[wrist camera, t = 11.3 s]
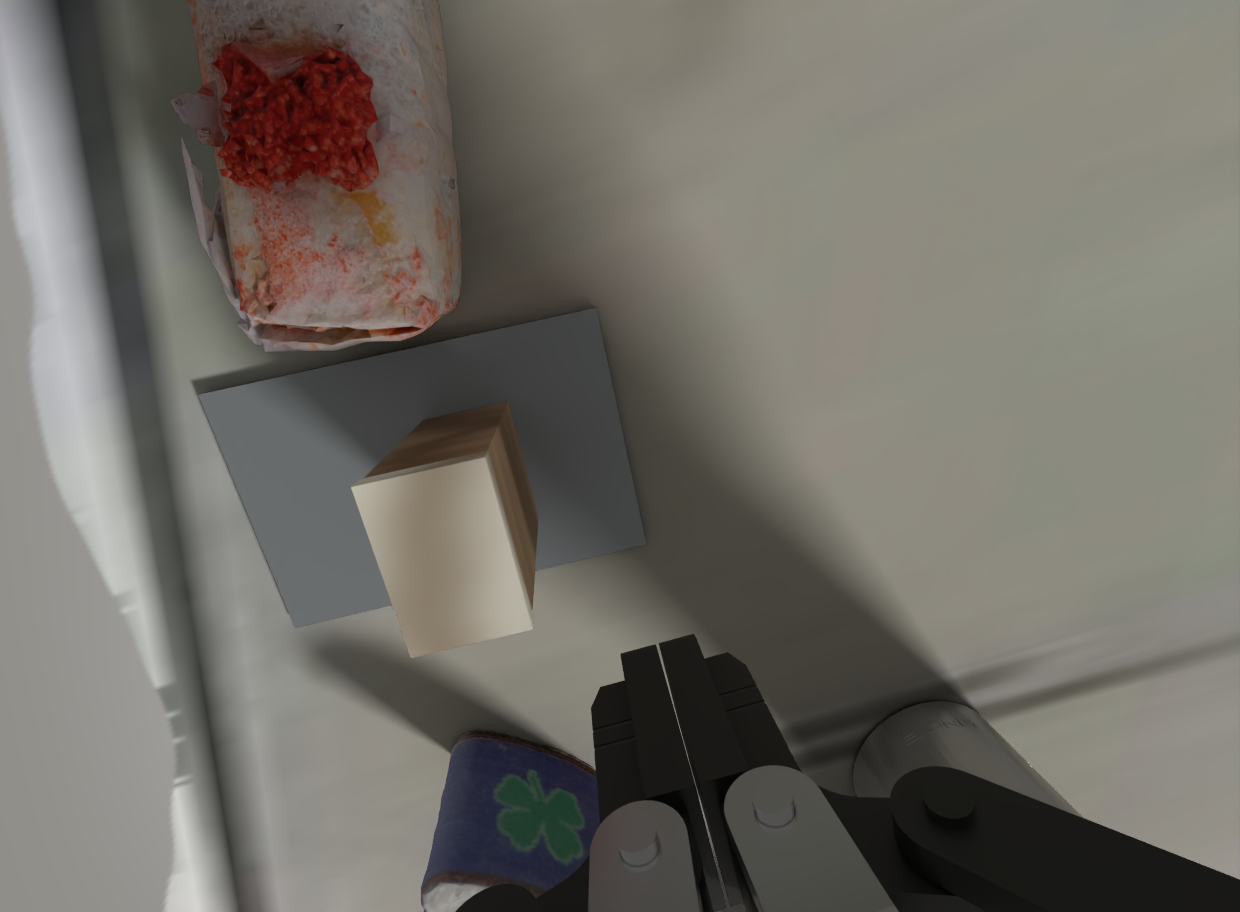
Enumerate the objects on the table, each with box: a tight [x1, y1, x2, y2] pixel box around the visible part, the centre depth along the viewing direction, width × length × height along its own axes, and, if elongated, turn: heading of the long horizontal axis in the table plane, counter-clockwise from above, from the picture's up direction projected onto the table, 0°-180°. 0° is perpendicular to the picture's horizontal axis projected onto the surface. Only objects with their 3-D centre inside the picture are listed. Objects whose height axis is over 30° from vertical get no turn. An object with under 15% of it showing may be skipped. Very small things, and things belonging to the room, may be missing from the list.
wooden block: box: [351, 401, 539, 658], centre depth 24 cm, size 4×6×10 cm
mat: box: [198, 308, 646, 628], centre depth 29 cm, size 12×18×1 cm, turn 102°
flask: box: [421, 730, 600, 912], centre depth 29 cm, size 9×3×11 cm, turn 61°
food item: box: [170, 0, 462, 352], centre depth 21 cm, size 14×8×10 cm, turn 1°
